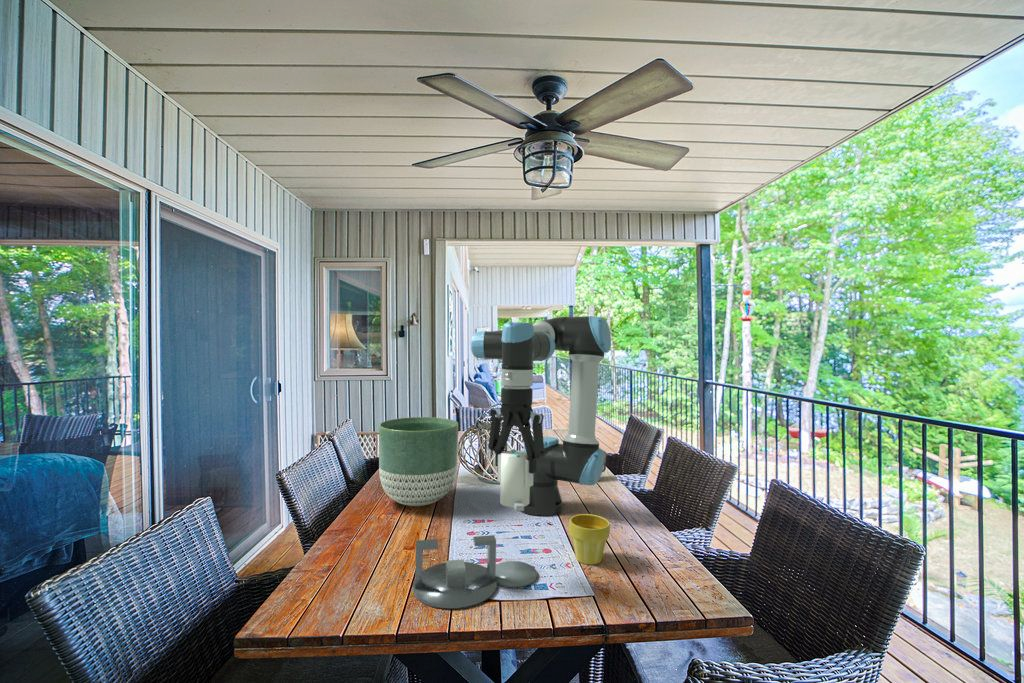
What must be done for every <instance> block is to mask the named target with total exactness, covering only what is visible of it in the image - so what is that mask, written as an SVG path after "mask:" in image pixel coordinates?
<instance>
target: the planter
mask: <svg viewBox="0 0 1024 683" xmlns="http://www.w3.org/2000/svg"><path fill="white" fill-rule="evenodd" d="M378 426H379V427H378V468H379V469H378V470H379V471H378V472H379V480H380V484H381V487H382V489H383V491H384V492H385V494H386V495H387V496H388V497H389V498H390V499H392V500H393V501H395V502H396V503H398V504H400V505H404V506H408V507H421V506H427V505H431V504H434V503H435V502H438V501H439V500H441V499H442V498H444V497H445V496H446V495H447V494H448V493H449V492H450V490H451V489H452V488H453V485H454V483H455V481H456V476H457V471H458V455H459V454H458V453H459V452H458V450H459V422H458V421H456V420H454V419H450V418H443V417H434V416H433V417H432V416H431V417H429V416H413V417H400V418H393V419H388V420H384V421H382V422H381V423H379V425H378Z"/></svg>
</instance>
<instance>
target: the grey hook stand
mask: <svg viewBox="0 0 1024 683" xmlns="http://www.w3.org/2000/svg"><path fill="white" fill-rule="evenodd" d="M472 539H473V545H474V547H480V546H481V547H482V546H484V547H485V546H487V550H486V551H487V553H486V557H487V558H486V560H487V562H486V564H487V565H486V566H487V567H486V566H484V565H482V564H479V563H475V562H470V561H465V560H464V559H453V560H452V559H451V560H450V559H449V560H446V561H445V562H443V563H438V564H435V565H432V566H429V567H428V568H426V569H424V570H423V558H424V557H423V555H424V554H423V553H424V552H423V551H430V550H439V540H438V538H436V539H435V538H434V539H421V540H415V566H414V568H415V572H414V574H415V575H414V576H415V577H414V580H413V584H412V593H413V595H414V597H415V598H416V599H417V600H418V601H419V602H421V603H422V604H424V605H426V606H428V607H430V608H434V609H440V610H463V609H468V608H472V607H475V606H478V605H481V604H483V603H485V602H487V601H488V600H489V599H490V598H492V596H494V594H495V592H496V591H497V588H498V584H497V580H496V579H495V575H496V565H497V538H496V537H495V535H493V534H492V535H478V536H473V537H472Z"/></svg>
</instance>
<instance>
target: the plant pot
mask: <svg viewBox="0 0 1024 683" xmlns="http://www.w3.org/2000/svg"><path fill="white" fill-rule="evenodd" d="M568 522H569V524H568V526H569V527H568V528H569V529H568V530H569V534H570V535H571V538H572V544H573V550H574V556H575V559H576V561H578V562H579V563H581V564H585V565H591V566H592V565H597V564H600V562H602V559H603V555H604V550H605V547H606V543H607V540H608V539H609V538H610V533H611V523H610V521H609V520H608V519H607V518H605V517H603V516H599V515H597V514H591V513H580V514H575V515H572V516H571V517H570V518H569V521H568Z"/></svg>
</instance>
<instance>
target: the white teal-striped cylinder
mask: <svg viewBox="0 0 1024 683" xmlns="http://www.w3.org/2000/svg"><path fill="white" fill-rule="evenodd" d="M527 458H528V456H527V452H525V451H524V450H516V449H513V448H512V449H510V450H505V451H504V452H502V453H501V479H500V482H499V483H500V484H499V485H500V486H499V487H500V488H499V490H500V492H499V493H500V494H499V503H500V504H501V505H502V506H504V507H507V508H513V509H514V510H515V512H521V511H524V506H527V505H528V504H529V498H530V487H529V488H525V459H527Z"/></svg>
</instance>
